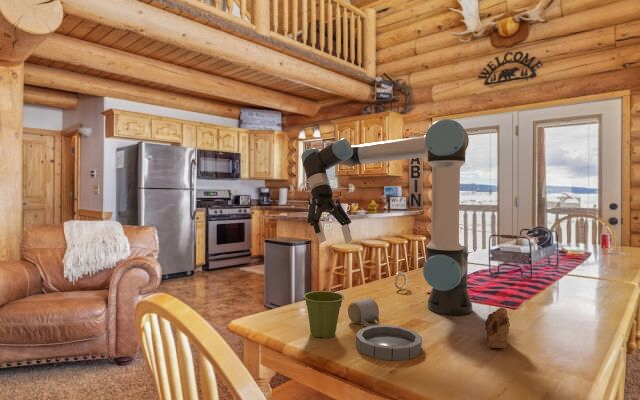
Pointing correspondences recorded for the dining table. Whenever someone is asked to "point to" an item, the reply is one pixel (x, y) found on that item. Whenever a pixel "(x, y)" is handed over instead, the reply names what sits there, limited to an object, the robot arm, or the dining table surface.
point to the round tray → (389, 342)
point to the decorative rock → (497, 328)
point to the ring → (398, 278)
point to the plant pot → (323, 312)
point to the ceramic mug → (364, 312)
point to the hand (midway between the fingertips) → (336, 242)
